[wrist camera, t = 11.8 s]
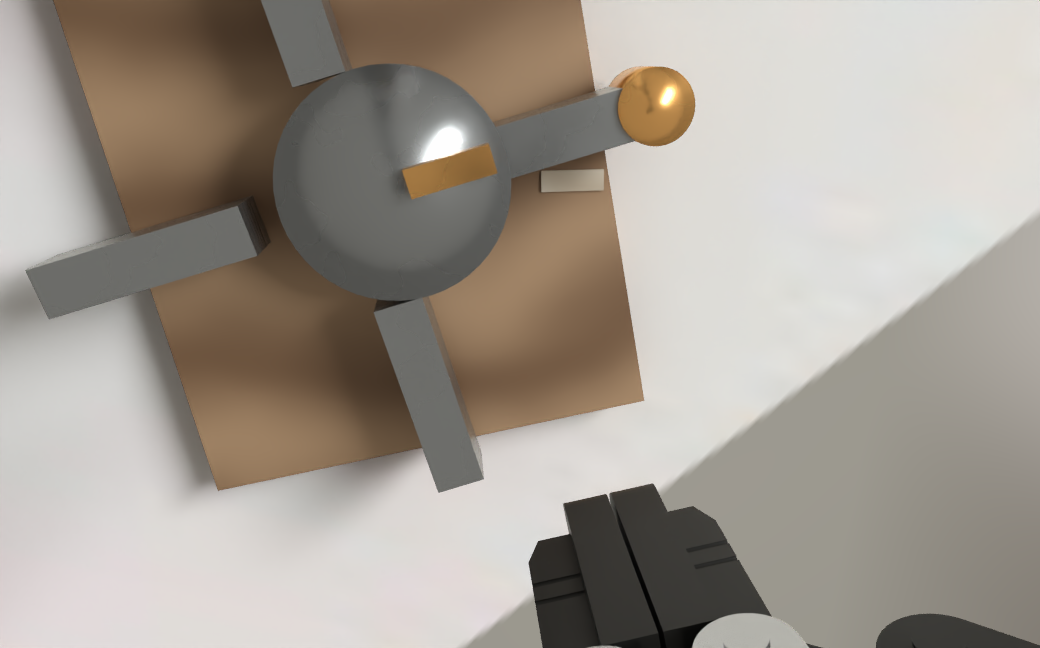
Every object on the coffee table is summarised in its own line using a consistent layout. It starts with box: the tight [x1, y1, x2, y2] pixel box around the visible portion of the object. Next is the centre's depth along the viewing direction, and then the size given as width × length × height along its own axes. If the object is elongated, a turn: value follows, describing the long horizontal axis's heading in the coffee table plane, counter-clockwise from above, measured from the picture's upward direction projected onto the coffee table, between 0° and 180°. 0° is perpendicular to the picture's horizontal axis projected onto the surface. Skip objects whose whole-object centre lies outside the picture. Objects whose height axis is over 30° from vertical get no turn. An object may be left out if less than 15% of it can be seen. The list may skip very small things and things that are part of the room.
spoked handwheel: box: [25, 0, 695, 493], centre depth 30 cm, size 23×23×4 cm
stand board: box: [53, 0, 644, 491], centre depth 33 cm, size 22×18×2 cm
